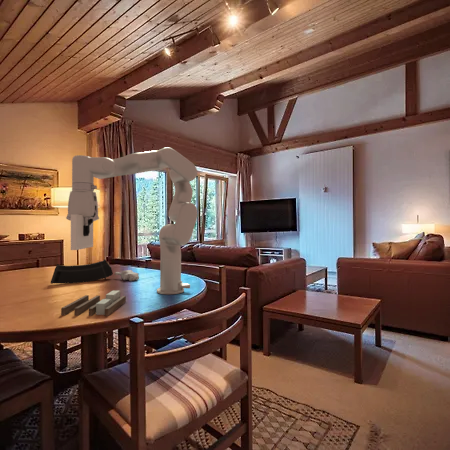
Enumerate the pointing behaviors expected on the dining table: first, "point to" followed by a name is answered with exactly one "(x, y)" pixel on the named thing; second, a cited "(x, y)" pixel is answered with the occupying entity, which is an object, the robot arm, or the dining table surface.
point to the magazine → (81, 273)
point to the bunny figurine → (128, 275)
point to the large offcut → (113, 296)
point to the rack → (90, 306)
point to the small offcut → (102, 306)
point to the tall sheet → (80, 233)
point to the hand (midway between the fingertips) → (82, 235)
